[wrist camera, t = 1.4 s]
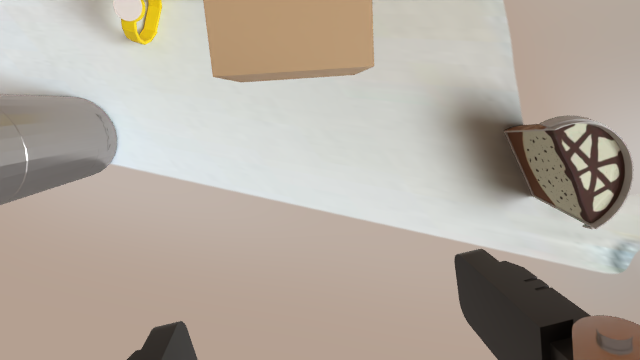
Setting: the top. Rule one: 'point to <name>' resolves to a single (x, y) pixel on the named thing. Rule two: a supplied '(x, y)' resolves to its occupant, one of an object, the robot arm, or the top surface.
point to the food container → (574, 166)
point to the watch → (138, 18)
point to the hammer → (289, 38)
